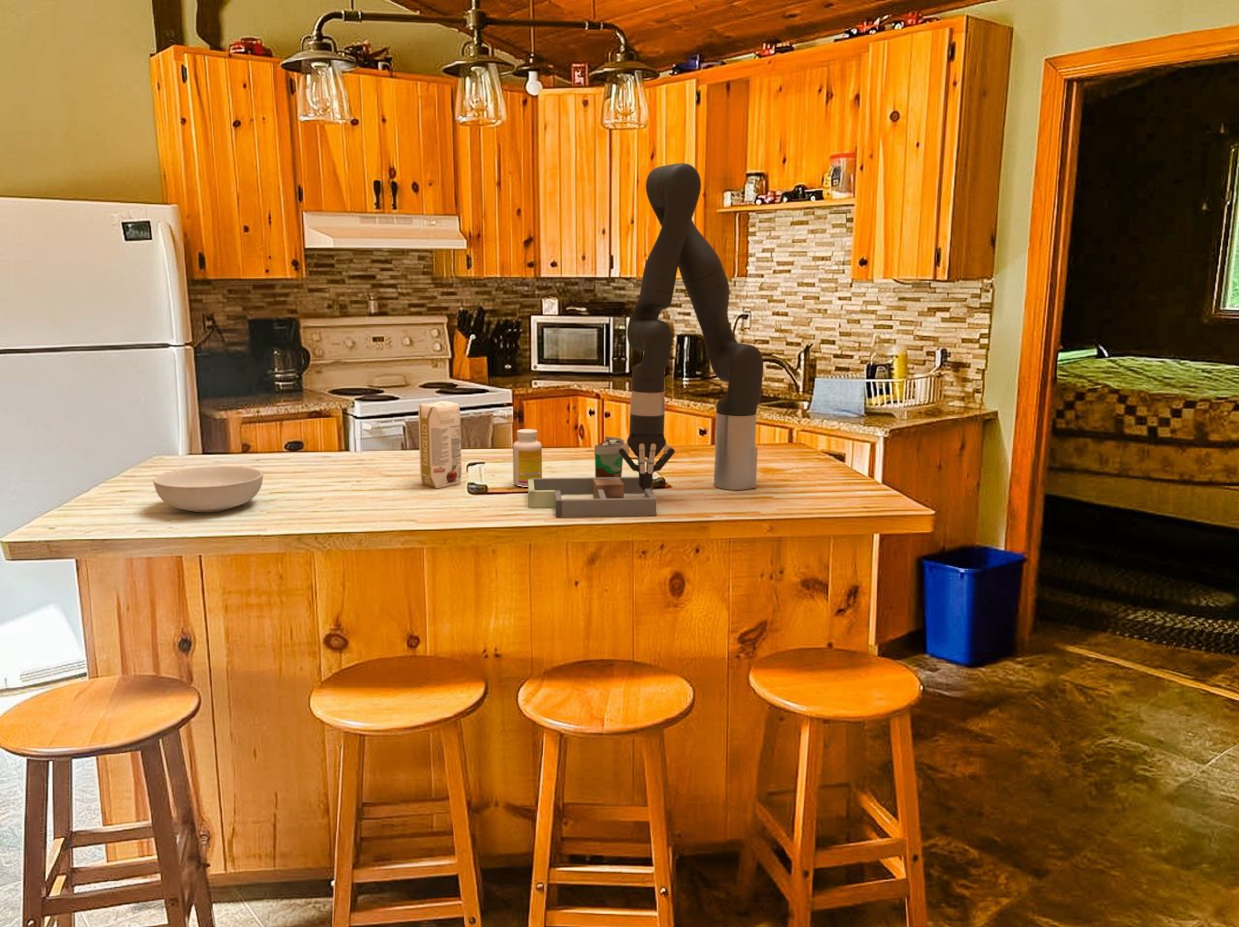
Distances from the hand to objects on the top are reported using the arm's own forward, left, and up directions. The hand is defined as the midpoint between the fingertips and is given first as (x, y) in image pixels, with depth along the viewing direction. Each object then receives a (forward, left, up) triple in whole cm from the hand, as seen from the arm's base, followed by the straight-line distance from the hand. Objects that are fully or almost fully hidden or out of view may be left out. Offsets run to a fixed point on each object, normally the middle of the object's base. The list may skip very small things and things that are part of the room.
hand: (645, 489), depth 210 cm
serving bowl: (+92, +2, -2) cm, 92 cm away
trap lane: (+12, +4, -2) cm, 13 cm away
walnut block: (+8, 0, -2) cm, 9 cm away
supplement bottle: (+26, -14, -2) cm, 29 cm away
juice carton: (+46, -16, -2) cm, 48 cm away
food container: (+6, -15, -2) cm, 16 cm away
